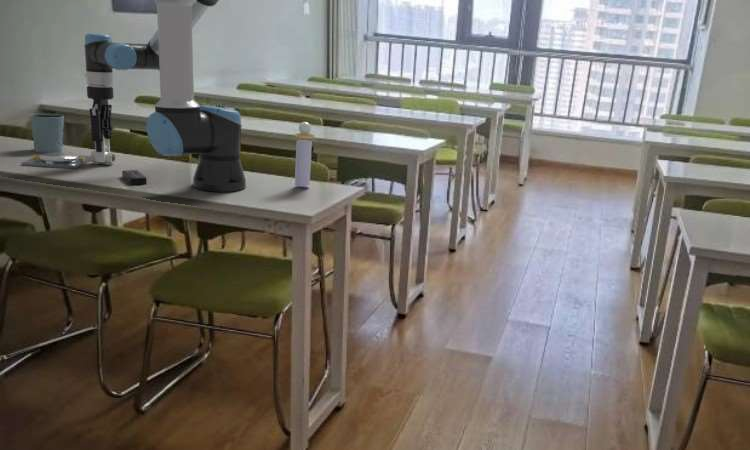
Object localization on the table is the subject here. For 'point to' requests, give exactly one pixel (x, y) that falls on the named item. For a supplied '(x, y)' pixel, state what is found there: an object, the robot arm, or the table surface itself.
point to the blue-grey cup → (47, 132)
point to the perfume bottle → (303, 156)
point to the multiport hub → (134, 177)
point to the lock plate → (57, 160)
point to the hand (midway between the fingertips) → (103, 160)
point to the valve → (108, 155)
